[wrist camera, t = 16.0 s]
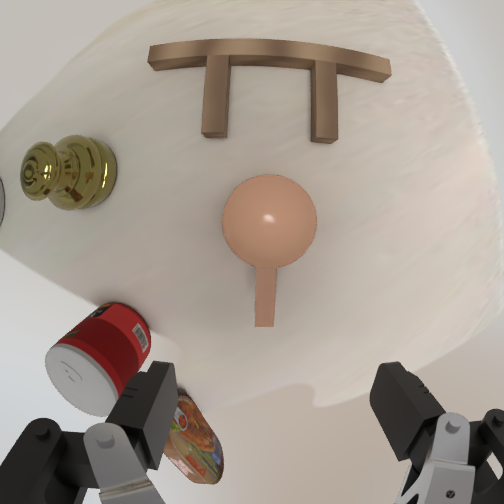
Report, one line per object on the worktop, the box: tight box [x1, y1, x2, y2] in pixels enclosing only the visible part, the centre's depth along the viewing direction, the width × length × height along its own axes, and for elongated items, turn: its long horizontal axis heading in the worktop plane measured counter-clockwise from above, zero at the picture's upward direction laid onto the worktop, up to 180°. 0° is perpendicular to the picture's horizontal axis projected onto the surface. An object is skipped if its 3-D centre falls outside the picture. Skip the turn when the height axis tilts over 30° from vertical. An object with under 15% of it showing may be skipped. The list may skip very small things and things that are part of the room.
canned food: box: [45, 303, 151, 417], centre depth 24 cm, size 8×8×11 cm
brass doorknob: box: [20, 135, 116, 211], centre depth 21 cm, size 7×7×10 cm
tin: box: [163, 395, 224, 484], centre depth 28 cm, size 15×3×8 cm, turn 18°
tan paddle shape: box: [222, 175, 317, 327], centre depth 22 cm, size 11×6×9 cm, turn 179°
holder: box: [147, 39, 392, 144], centre depth 23 cm, size 24×10×2 cm, turn 88°
